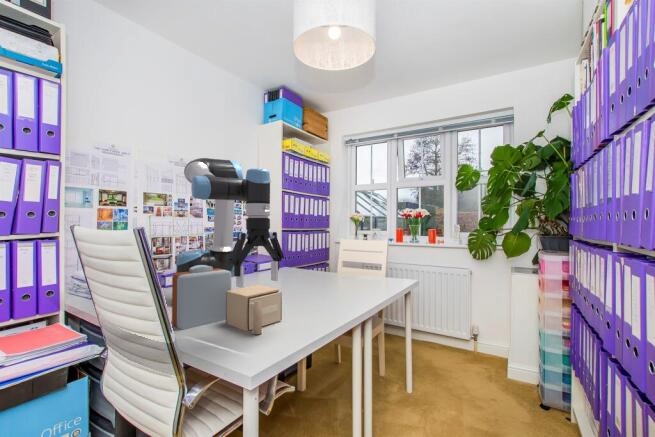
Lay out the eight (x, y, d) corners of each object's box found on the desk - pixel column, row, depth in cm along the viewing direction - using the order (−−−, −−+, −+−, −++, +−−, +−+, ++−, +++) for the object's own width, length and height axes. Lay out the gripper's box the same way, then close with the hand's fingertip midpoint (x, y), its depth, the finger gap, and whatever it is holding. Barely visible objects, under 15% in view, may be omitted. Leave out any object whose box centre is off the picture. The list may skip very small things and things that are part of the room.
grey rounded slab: (221, 314, 123) (221, 262, 123) (232, 319, 116) (232, 264, 116) (171, 325, 110) (171, 267, 110) (180, 332, 103) (180, 270, 103)
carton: (226, 324, 111) (226, 290, 111) (258, 315, 121) (258, 284, 121) (246, 332, 103) (246, 296, 103) (278, 322, 114) (278, 289, 114)
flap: (245, 330, 102) (245, 299, 102) (280, 319, 114) (280, 291, 114) (256, 334, 98) (256, 303, 98) (291, 322, 110) (292, 294, 110)
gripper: (230, 216, 88) (230, 291, 88) (294, 217, 108) (294, 279, 107) (216, 216, 93) (216, 288, 93) (279, 217, 112) (279, 277, 112)
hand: (258, 283), depth 100 cm, fingers open, 13 cm apart
